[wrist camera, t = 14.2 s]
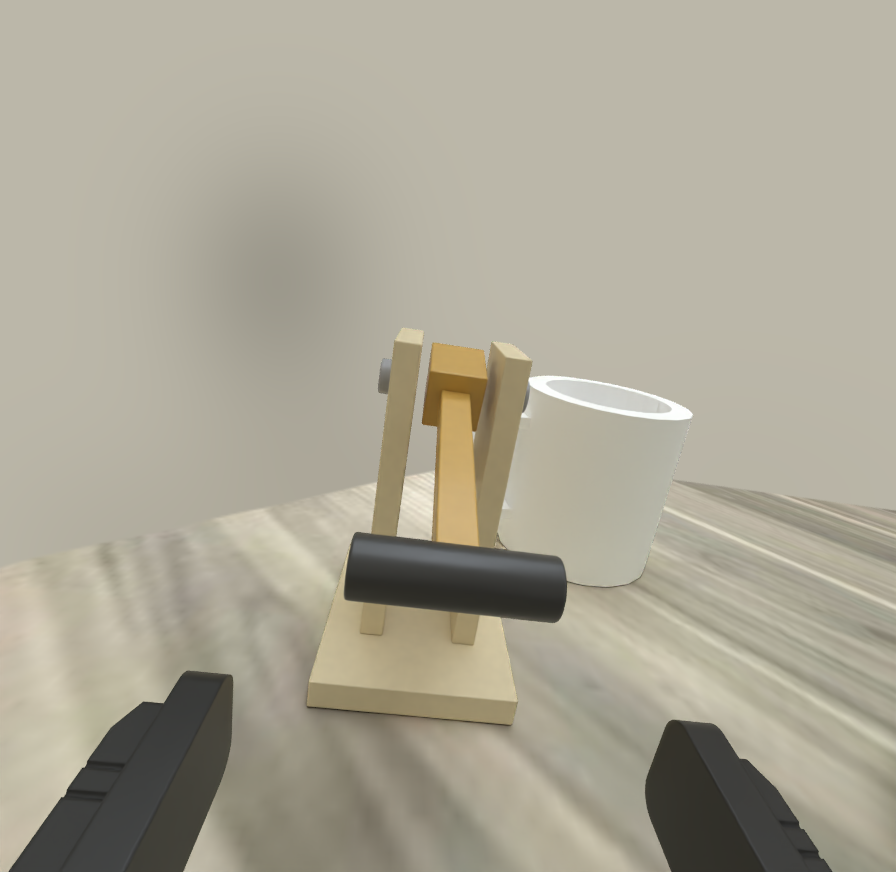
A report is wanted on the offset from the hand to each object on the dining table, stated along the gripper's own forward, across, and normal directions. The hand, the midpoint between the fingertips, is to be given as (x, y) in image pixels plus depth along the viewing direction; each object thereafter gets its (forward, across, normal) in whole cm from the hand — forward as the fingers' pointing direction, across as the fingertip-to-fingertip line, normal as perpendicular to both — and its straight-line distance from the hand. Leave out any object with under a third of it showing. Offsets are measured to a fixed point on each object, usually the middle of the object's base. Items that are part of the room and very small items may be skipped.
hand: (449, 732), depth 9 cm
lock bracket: (+13, 0, +8) cm, 15 cm away
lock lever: (+9, 0, -1) cm, 9 cm away
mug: (+23, -9, +8) cm, 26 cm away
